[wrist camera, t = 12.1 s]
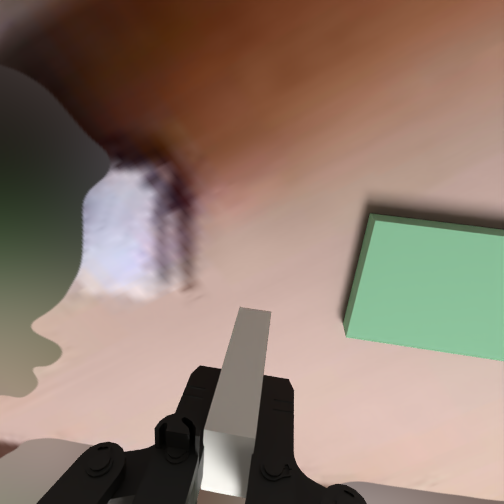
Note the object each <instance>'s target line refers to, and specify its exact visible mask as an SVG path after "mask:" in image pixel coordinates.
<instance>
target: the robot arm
mask: <svg viewBox="0 0 504 504" xmlns="http://www.w3.org/2000/svg"><path fill="white" fill-rule="evenodd" d="M270 318H271V312H270V311H263V310H256V309H249V308H243V307H240V308H239V312H238V315H237V318H236V322H235V325H234V329H233V332H232V335H231V339H230V342H229V346H228V349H227V352H226V356H225V359H224V363H223V366H222V369H218V368H212V367H206V366H199V367H198V368H197V369H196V370H195V371H194V372H193V373H192V374H191V375H190V378H189V380H188V383H187V386H186V388H185V390H184V393H183V396H182V397H181V400H180V402H179V405H178V407H177V410H176V412H175V413H174V414H171V415H168V416H166V417H165V418H163V419H162V420H161V421H159V423H158V424H157V426H156V427H155V445H153V446H151V447H149V448H145V449H141V450H134V451H127V452H124V451H123V448H121V447H120V446H119V445H118V444H116V443H111V442H104V443H99V444H97V445H94V446H92V447H90V448H89V449H88V450H86V451H85V452H84V453H83V454H82V455H81V456H80V457H79V458H78V459H77V460H76V461H75V462H74V463H73V464H72V466H71V467H70V468H69V469H68V470H67V471H66V472H65V473H64V474H63V475H62V476H61V477H60V479H59V480H58V481H57V482H56V483H55V484H54V485H53V486H52V487H51V488H50V489H49V491H48V492H47V493H46V494H45V495H44V496H43V497H42V498H41V499H40V500H39V501H38V503H37V504H197V497H198V494H199V490H200V486H201V489H202V490H207V491H212V492H218V493H222V494H227V495H233V496H238V497H243V498H246V501H245V504H366V502H365V500H364V498H363V497H362V496H361V495H360V494H359V493H358V492H357V491H356V490H354V489H352V488H351V487H349V486H347V485H342V484H335V485H331V486H329V487H328V488H325V487H323V486H322V485H320V484H318V483H316V482H314V481H313V480H311V479H310V478H308V477H307V476H306V475H305V474H304V473H303V472H302V471H301V470H300V468H299V467H298V465H297V464H296V461H295V458H294V390H293V387H292V385H291V383H290V381H289V379H284V378H278V377H272V376H266V375H263V374H264V366H265V358H266V350H267V342H268V334H269V326H270Z"/></svg>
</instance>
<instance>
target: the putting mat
mask: <svg viewBox="0 0 504 504" xmlns="http://www.w3.org/2000/svg"><path fill="white" fill-rule="evenodd" d="M343 326H344V331H345V335H346V337H348V338H354V339H361V340H367V341H374V342H380V343H387V344H394V345H400V346H407V347H413V348H420V349H427V350H433V351H440V352H446V353H453V354H460V355H466V356H473V357H479V358H486V359H493V360H499V361H504V230H503V229H495V228H487V227H478V226H470V225H462V224H454V223H446V222H437V221H429V220H421V219H413V218H405V217H396V216H388V215H380V214H372V213H370V215H369V219H368V223H367V227H366V231H365V236H364V240H363V244H362V248H361V252H360V256H359V260H358V264H357V268H356V272H355V277H354V281H353V285H352V289H351V293H350V297H349V301H348V305H347V309H346V313H345V318H344V322H343Z"/></svg>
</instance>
